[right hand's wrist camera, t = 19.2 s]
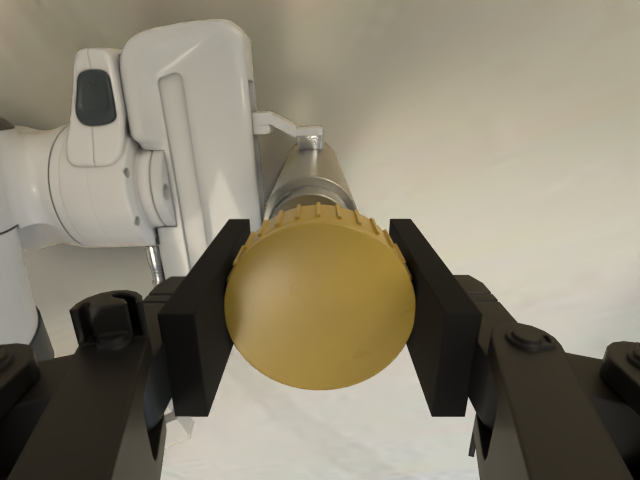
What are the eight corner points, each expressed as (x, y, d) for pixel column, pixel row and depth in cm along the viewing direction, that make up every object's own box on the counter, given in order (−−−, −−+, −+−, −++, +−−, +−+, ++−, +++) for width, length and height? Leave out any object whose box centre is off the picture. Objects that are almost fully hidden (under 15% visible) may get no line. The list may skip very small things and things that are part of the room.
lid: (422, 329, 12) (438, 364, 11) (271, 371, 13) (264, 411, 11) (378, 176, 11) (389, 191, 9) (206, 234, 11) (186, 258, 10)
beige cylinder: (276, 157, 33) (237, 222, 16) (319, 128, 32) (325, 161, 15) (306, 198, 34) (298, 299, 17) (347, 171, 34) (382, 247, 16)
